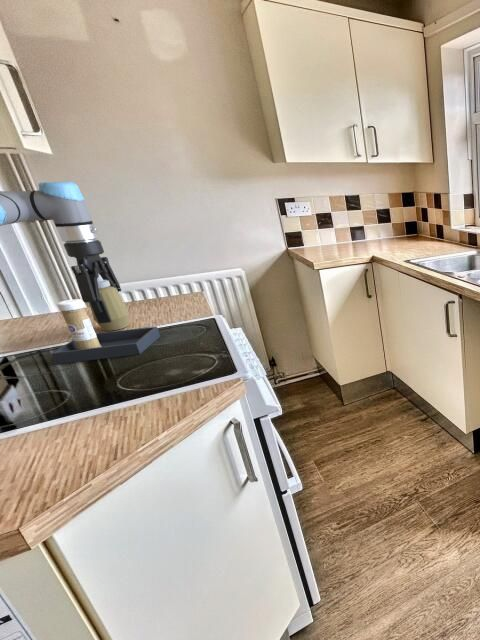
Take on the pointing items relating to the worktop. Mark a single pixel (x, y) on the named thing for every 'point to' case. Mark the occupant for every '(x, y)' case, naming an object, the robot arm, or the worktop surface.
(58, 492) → the worktop surface
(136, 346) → the serving tray
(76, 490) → the worktop surface
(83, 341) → the sprinkles bottle
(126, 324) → the squeeze bottle
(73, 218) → the robot arm
